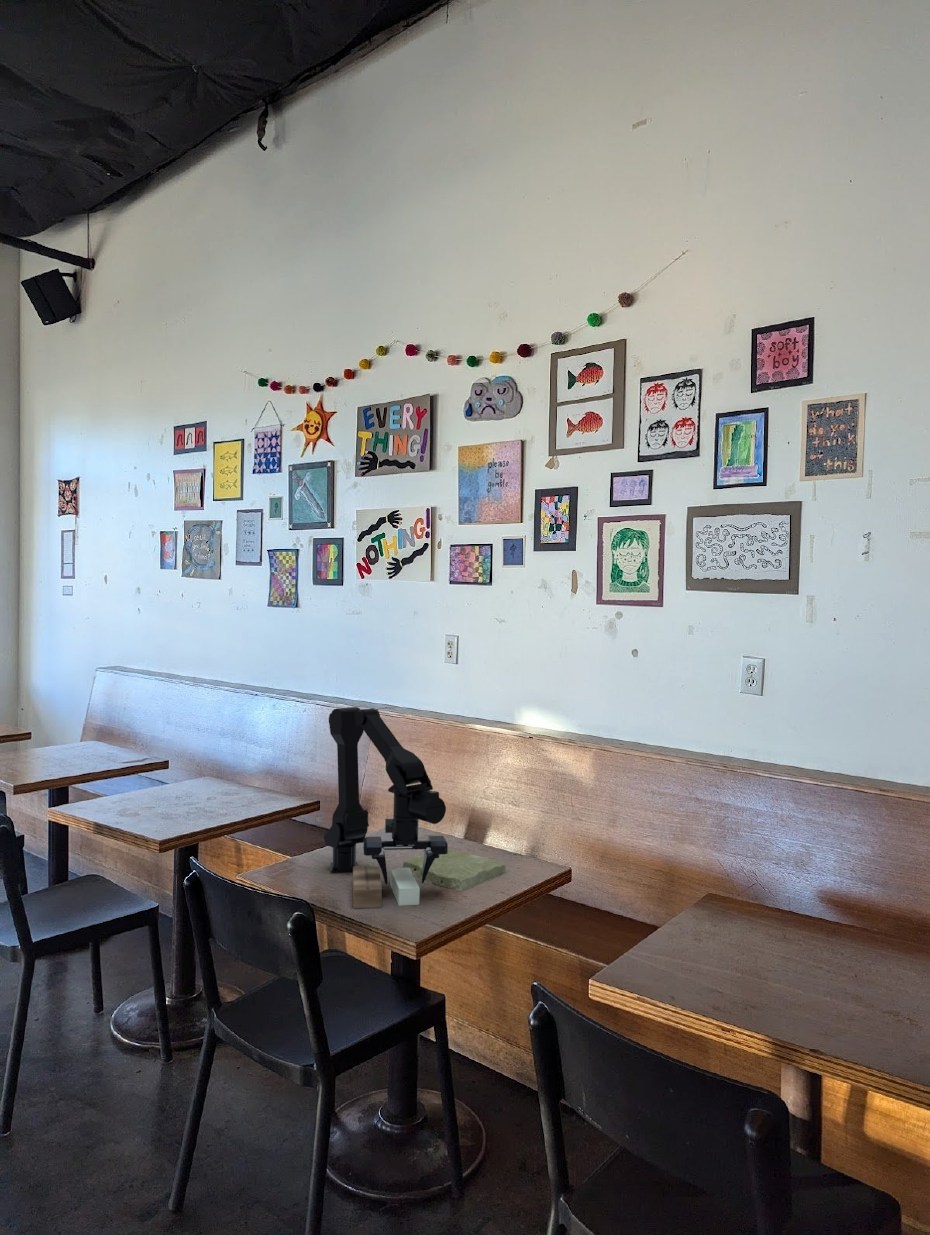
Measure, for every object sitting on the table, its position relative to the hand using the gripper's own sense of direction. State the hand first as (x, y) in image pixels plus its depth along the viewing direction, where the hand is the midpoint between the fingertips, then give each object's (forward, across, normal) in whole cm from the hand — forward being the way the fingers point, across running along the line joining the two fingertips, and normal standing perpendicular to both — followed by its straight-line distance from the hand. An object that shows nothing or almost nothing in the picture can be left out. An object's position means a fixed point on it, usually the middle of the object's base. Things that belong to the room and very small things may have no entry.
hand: (404, 883), depth 194 cm
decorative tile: (+3, -12, -14) cm, 19 cm away
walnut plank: (+2, +8, 0) cm, 9 cm away
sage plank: (+3, 0, 0) cm, 3 cm away
